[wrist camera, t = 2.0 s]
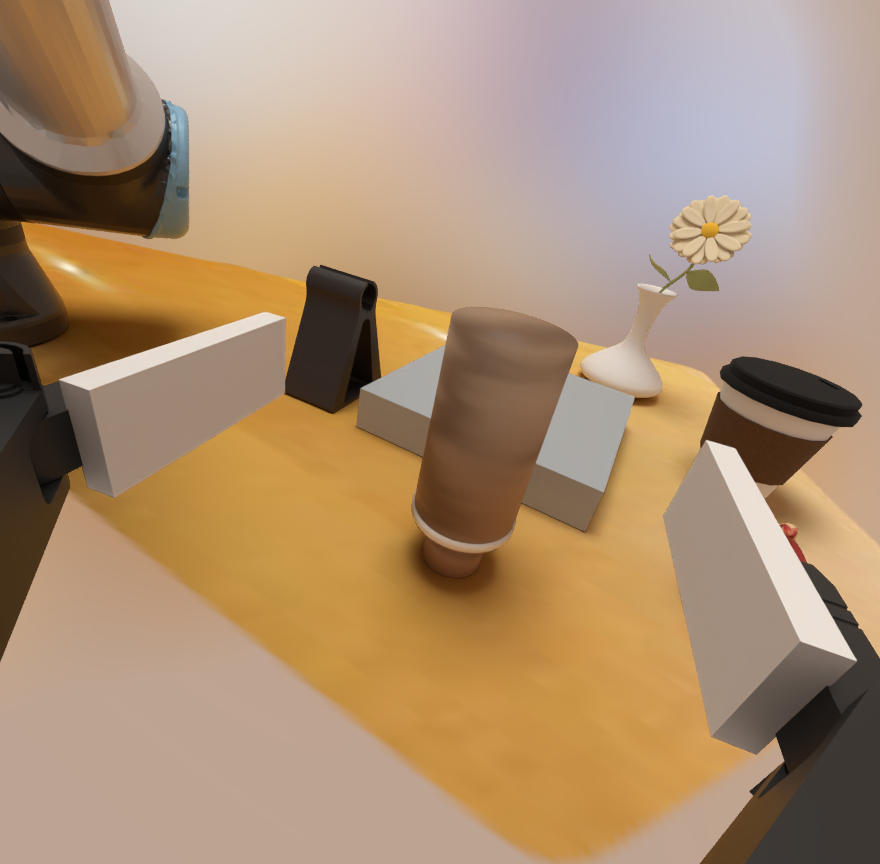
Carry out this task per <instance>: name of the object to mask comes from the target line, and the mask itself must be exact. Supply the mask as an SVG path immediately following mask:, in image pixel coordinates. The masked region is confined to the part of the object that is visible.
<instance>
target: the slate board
mask: <svg viewBox="0 0 880 864" xmlns="http://www.w3.org/2000/svg"><path fill="white" fill-rule="evenodd" d="M445 346H446V345H444V346H442V347H440V348H438V349H436V350H434V351H432V352H431V353H429V354H427V355H425V356H423V357H421V358H419V359H417V360H415V361H413V362H411V363H409V364H407V365H405V366H403V367H401V368H399V369H397V370H395V371H393V372H391V373H389V374H388V375H386V376H384V377H382V378H380V379H378V380H376V381H374V382H372V383H370V384H368V385H366V386H364V387H362V388H360V397H359V407H358V416H357V427H359V428H361V429H363V430H365V431H367V432H370V433H372V434H374V435H376V436H378V437H380V438H383V439H385V440H387V441H389V442H391V443H393V444H396V445H398V446H400V447H402V448H404V449H406V450H409V451H411V452H413V453H415V454H417V455H419V456H421V457H423V454H424V449H425V445H426V440H427V435H428V430H429V425H430V420H431V415H432V410H433V405H434V400H435V395H436V390H437V385H438V380H439V375H440V370H441V365H442V360H443V355H444V350H445ZM634 399H635V396H632V395H629V394H626V393H623V392H620V391H618V390H615V389H612V388H609V387H606V386H603V385H601V384H598V383H595V382H592V381H589V380H586V379H584V378H581V377H578V376H575V375H572V374H569V373H568V376H567V379H566V381H565V384H564V387H563V390H562V392H561V395H560V398H559V401H558V403H557V406H556V409H555V412H554V414H553V417H552V420H551V423H550V425H549V428H548V431H547V434H546V437H545V439H544V442H543V445H542V448H541V450H540V453H539V456H538V459H537V461H536V464H535V467H534V470H533V472H532V475H531V478H530V481H529V483H528V486H527V489H526V492H525V494H524V497H523V500H522V503H523V504H525V505H528V506H530V507H532V508H534V509H536V510H538V511H541V512H543V513H545V514H547V515H549V516H551V517H553V518H556V519H558V520H560V521H562V522H564V523H566V524H569V525H571V526H573V527H575V528H577V529H579V530H582V531H584V532H585V531H586V529H587V527H588V525H589V522H590V520H591V518H592V516H593V514H594V512H595V510H596V508H597V506H598V504H599V502H600V500H601V497H602V495H603V493H604V491H605V488H606V484H607V481H608V478H609V475H610V472H611V469H612V466H613V463H614V460H615V457H616V454H617V451H618V448H619V445H620V442H621V439H622V436H623V433H624V429H625V426H626V423H627V420H628V417H629V414H630V411H631V408H632V405H633V402H634Z"/></svg>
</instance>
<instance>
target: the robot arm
mask: <svg viewBox="0 0 880 864" xmlns="http://www.w3.org/2000/svg"><path fill="white" fill-rule="evenodd" d="M21 222H29V223H39V224H47V225H56V226H65V227H72V228H81V229H89V230H98V231H106V232H114V233H122V234H130V235H138V236H142V237H143V238H146V239H152V238H154V237H156V238H171V239H177V238H181V237H183V236H184V235H185V234H186V233H187V231H188V229H189V130H188V117H187V114H186V112H185V111H184V109H183V108H181V107H179V106H176V105H173V104H172V103H171V102H170V101H167V100H161V98H160V95H159V93H158V91H157V89H156V87H155V85H154V83H153V82H152V80H151V79H150V78H149V76H148V75H147V74H146V72H145V71H144V70H143V69H142V68H141V67H140V66H139V65H138V64H137V63H136V62H135V61H134V60H133V59H132V58H131V57H130V56H128V55H127V54H126V53H125V50H124V47H123V44H122V41H121V38H120V34H119V31H118V28H117V25H116V22H115V19H114V15H113V12H112V9H111V6H110V3H109V0H0V661H1V659H2V656H3V654H4V651H5V648H6V646H7V644H8V641H9V639H10V636H11V634H12V631H13V629H14V626H15V624H16V621H17V619H18V616H19V614H20V611H21V608H22V606H23V603H24V601H25V599H26V596H27V594H28V591H29V589H30V586H31V584H32V581H33V579H34V576H35V573H36V571H37V568H38V566H39V564H40V561H41V559H42V556H43V554H44V551H45V549H46V546H47V544H48V541H49V539H50V536H51V534H52V531H53V528H54V526H55V524H56V521H57V519H58V516H59V514H60V511H61V509H62V506H63V504H64V501H65V499H66V496H67V494H68V491H69V489H70V480H69V477H68V473H69V472H71V471H73V470H75V469H77V468H79V467H81V466H82V469H83V473H84V476H85V480H86V484H87V487H88V488H90V489H93V490H95V491H98V492H100V493H103V494H105V495H108V496H111V497H113V498H115V497H117V496H118V495H120V494H122V493H123V492H125V491H126V490H128V489H130V488H131V487H133V486H135V485H136V484H138V483H140V482H141V481H143V480H144V479H146V478H148V477H149V476H151V475H153V474H154V473H156V472H157V471H159V470H161V469H162V468H164V467H166V466H167V465H169V464H171V463H172V462H174V461H175V460H177V459H179V458H180V457H182V456H184V455H185V454H187V453H189V452H190V451H192V450H193V449H195V448H197V447H198V446H200V445H202V444H203V443H205V442H206V441H208V440H210V439H211V438H213V437H215V436H216V435H218V434H220V433H221V432H223V431H224V430H226V429H228V428H229V427H231V426H233V425H234V424H236V423H238V422H239V421H241V420H242V419H244V418H246V417H247V416H249V415H251V414H252V413H254V412H255V411H257V410H259V409H260V408H262V407H264V406H265V405H267V404H269V403H270V402H272V401H273V400H275V399H277V398H278V397H280V396H282V395H283V394H285V333H286V318H285V317H281V316H278V315H274V314H271V313H267V312H263V313H260V314H257V315H254V316H251V317H248V318H245V319H242V320H239V321H236V322H233V323H229V324H226V325H223V326H220V327H217V328H214V329H211V330H208V331H205V332H202V333H199V334H196V335H193V336H190V337H187V338H184V339H181V340H178V341H175V342H172V343H169V344H165V345H162V346H159V347H156V348H153V349H150V350H147V351H144V352H141V353H138V354H135V355H132V356H129V357H126V358H123V359H120V360H117V361H114V362H111V363H108V364H105V365H101V366H98V367H95V368H92V369H89V370H86V371H83V372H80V373H77V374H74V375H71V376H68V377H65V378H62V379H59V381H58V382H55V383H52V384H49V385H46V386H43V387H42V384H41V380H40V377H39V373H38V370H37V366H36V363H35V360H34V356H33V353H32V349H30V348H29V347H28V346H31V345H35V344H38V343H41V342H44V341H47V340H49V339H52V338H54V337H56V336H58V335H60V334H61V333H63V332H64V331H65V330H66V329H67V327H68V325H69V320H68V316H67V312H66V308H65V304H64V302H63V300H62V298H61V297H60V295H59V294H58V292H57V290H56V289H55V287H54V286H53V284H52V283H51V281H50V280H49V278H48V277H47V275H46V274H45V272H44V271H43V269H42V268H41V266H40V265H39V263H38V262H37V260H36V259H35V257H34V256H33V254H32V253H31V251H30V250H29V248H28V245H27V243H26V239H25V235H24V232H23V228H22V225H21ZM663 518H664V522H665V527H666V532H667V536H668V541H669V545H670V550H671V555H672V559H673V564H674V568H675V573H676V578H677V582H678V587H679V591H680V596H681V601H682V605H683V610H684V614H685V619H686V624H687V628H688V633H689V637H690V642H691V647H692V651H693V656H694V660H695V665H696V670H697V674H698V679H699V683H700V688H701V693H702V697H703V702H704V706H705V711H706V716H707V720H708V725H709V729H710V734H711V737H713V738H716V739H718V740H721V741H723V742H726V743H728V744H731V745H733V746H736V747H738V748H741V749H743V750H746V751H748V752H751V753H753V754H756V755H757V754H758V753H759V752H760V751H761V750H762V749H763V748H764V747H765V746H766V745H768V744H769V743H770V742H771V741H772V740H773V739H774V738H775V737H777V740H778V743H779V746H780V749H781V752H782V755H783V758H784V762H783V763H782V764H781V765H779V766H778V767H777V768H776V769H775V770H774V771H773V772H771V773H770V774H769V775H768V776H767V777H766V778H764V779H763V780H762V781H761V782H760V783H759V784H758V785H756V786H755V787H754V788H753V789H752V790H750V793H751V794H752V795H753V797H752V798H751V800H750V801H749V802H748V804H747V805H746V806H745V807H744V808H743V810H742V811H741V812H740V814H739V815H738V816H737V817H736V819H735V820H734V821H733V822H732V824H731V825H730V826H729V828H728V829H727V830H726V831H725V833H724V834H723V835H722V836H721V838H720V839H719V840H718V841H717V843H716V844H715V845H714V846H713V848H712V849H711V850H710V852H709V853H708V854H707V855H706V857H705V858H704V859H703V860H702V862H701V863H700V864H880V658H879V656H878V655H877V653H876V652H875V650H874V648H873V647H872V645H871V644H870V642H869V640H868V639H867V637H866V636H865V634H864V632H863V631H862V629H859V628H858V625H859V624H858V623H857V621H856V620H855V618H854V616H853V615H852V613H851V612H850V611H848V610H847V608H848V607H847V605H846V604H845V602H844V600H843V599H842V597H841V596H840V594H839V592H838V591H837V589H836V588H835V586H834V585H833V584H832V583H831V582H830V581H829V580H828V579H827V578H826V577H825V576H824V575H823V574H822V573H821V572H820V571H818V570H817V569H816V568H815V567H814V566H813V565H811V564H808V563H805V562H802V561H800V560H799V559H798V557H797V555H796V553H795V552H794V550H793V548H792V546H791V545H790V543H789V541H788V539H787V538H786V536H785V534H784V533H783V531H782V529H781V527H780V526H779V524H778V522H777V520H776V519H775V517H774V515H773V513H772V512H771V510H770V508H769V506H768V505H767V503H766V501H765V499H764V498H763V496H762V494H761V492H760V491H759V489H758V487H757V485H756V484H755V482H754V480H753V478H752V477H751V475H750V473H749V471H748V470H747V468H746V466H745V464H744V463H743V461H742V459H741V457H740V456H739V454H738V452H737V450H736V449H735V448H732V447H729V446H725V445H722V444H718V443H715V442H711V441H708V440H706V441H705V443H704V444H703V446H702V448H701V450H700V451H699V453H698V455H697V457H696V459H695V460H694V462H693V464H692V466H691V467H690V469H689V471H688V473H687V474H686V476H685V478H684V480H683V482H682V483H681V485H680V487H679V489H678V490H677V492H676V494H675V496H674V497H673V499H672V501H671V503H670V505H669V506H668V508H667V510H666V512H665V513H664V515H663Z"/></svg>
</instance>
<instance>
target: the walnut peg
mask: <svg viewBox="0 0 880 864" xmlns="http://www.w3.org/2000/svg"><path fill="white" fill-rule="evenodd" d="M577 348H578V342H577V341H576V339H575V338H574V337H573V336H572V335H570V334H569V333H568V332H566V331H565V330H563V329H561V328H559V327H557V326H555V325H553V324H551V323H549V322H546V321H544V320H541V319H538V318H535V317H532V316H528V315H525V314H521V313H517V312H513V311H508V310H503V309H497V308H488V307H466V308H462V309H458V310H456V311H454V312H453V313H452V316H451V321H450V326H449V331H448V336H447V341H446V346H445V350H444V355H443V360H442V365H441V370H440V375H439V380H438V385H437V390H436V395H435V400H434V405H433V410H432V415H431V420H430V425H429V430H428V435H427V440H426V445H425V449H424V454H423V459H422V464H421V469H420V474H419V479H418V484H417V489H416V490H415V493H414V496H413V501H412V515H413V518H414V521H415V523H416V525H417V526H418V528H419V529H420V530H421V532H422V533H423V534H424V535H425V540H424V544H423V549H422V554H423V558H424V560H425V562H426V563H427V565H428V566H429V567H430V568H431V569H432V570H433V571H435V572H436V573H438V574H440V575H443V576H446V577H450V578H464V577H467V576H470V575H471V574H473V573H474V572H475V571H476V570H477V569H478V567H479V564H480V561H481V558H482V555H483V553H487V552H491V551H493V550H496V549H498V548H499V547H501V546H503V545H504V544H505V543H506V542H507V541H508V540H509V539H510V537H511V535H512V532H513V530H514V527H515V523H516V516H517V514H518V511H519V508H520V505H521V503H522V500H523V497H524V494H525V492H526V489H527V486H528V483H529V481H530V478H531V475H532V472H533V470H534V467H535V464H536V461H537V459H538V456H539V453H540V450H541V448H542V445H543V442H544V439H545V437H546V434H547V431H548V428H549V425H550V423H551V420H552V417H553V414H554V412H555V409H556V406H557V403H558V401H559V398H560V395H561V392H562V390H563V387H564V384H565V381H566V379H567V376H568V373H569V370H570V368H571V365H572V362H573V359H574V357H575V354H576V351H577Z"/></svg>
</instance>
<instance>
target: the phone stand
mask: <svg viewBox="0 0 880 864" xmlns="http://www.w3.org/2000/svg"><path fill="white" fill-rule="evenodd" d="M306 287H307V296H306V302H305V306H304V310H303V314H302V318H301V322H300V326H299V330H298V334H297V337H296V341H295V345H294V349H293V353H292V357H291V361H290V365H289V369H288V372H287V376H286V380H285V393H287V394H289V395H291V396H294V397H296V398H299V399H301V400H303V401H306V402H308V403H310V404H313V405H315V406H317V407H320V408H322V409H325V410H327V411H329V412H332V413H335V412H337V411H339V410H340V409H342V408H344V407H345V406H347V405H349V404H350V403H352V402H353V401H355V400H357V399H358V398H359V397H360V388H362V387H364V386H366V385H368V384H370V383H372V382H374V381H376V380H378V379H380V378H381V372H380V361H379V349H378V338H377V327H376V315H375V309H376V301H377V296H378V289H377V285H376V283H375V282H373V281H370V280H367V279H364V278H360V277H358V276H354V275H351V274H348V273H345V272H342V271H338V270H335V269H332V268H329V267H326V266H323V265H320V267H317V266H313V267H312V268H311V269H310V271H309V273H308V276H307V280H306Z"/></svg>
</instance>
